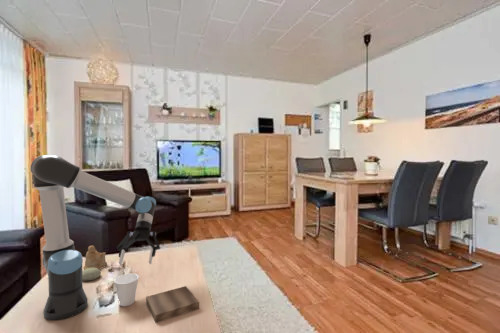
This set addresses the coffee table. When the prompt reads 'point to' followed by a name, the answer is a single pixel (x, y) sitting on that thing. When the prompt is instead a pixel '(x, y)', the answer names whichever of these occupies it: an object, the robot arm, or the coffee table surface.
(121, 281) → the cup
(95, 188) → the robot arm
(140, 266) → the coffee table surface
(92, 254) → the statue
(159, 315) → the wooden block
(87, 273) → the sea urchin shell
